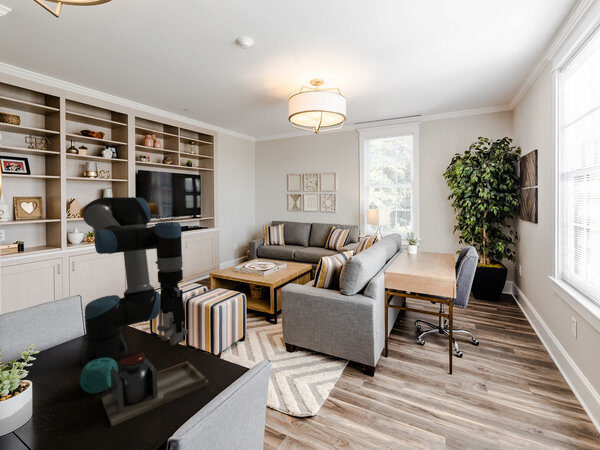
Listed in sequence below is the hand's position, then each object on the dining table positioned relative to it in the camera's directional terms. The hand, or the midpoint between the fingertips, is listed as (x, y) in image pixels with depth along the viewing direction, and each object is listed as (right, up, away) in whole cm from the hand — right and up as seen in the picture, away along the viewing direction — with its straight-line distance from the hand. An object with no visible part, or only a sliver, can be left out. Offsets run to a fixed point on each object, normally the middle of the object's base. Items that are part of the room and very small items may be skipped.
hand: (173, 336), depth 100 cm
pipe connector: (0, -3, +1) cm, 3 cm away
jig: (-4, -17, -3) cm, 18 cm away
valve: (-9, -17, -7) cm, 21 cm away
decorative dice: (-25, -17, +1) cm, 30 cm away
